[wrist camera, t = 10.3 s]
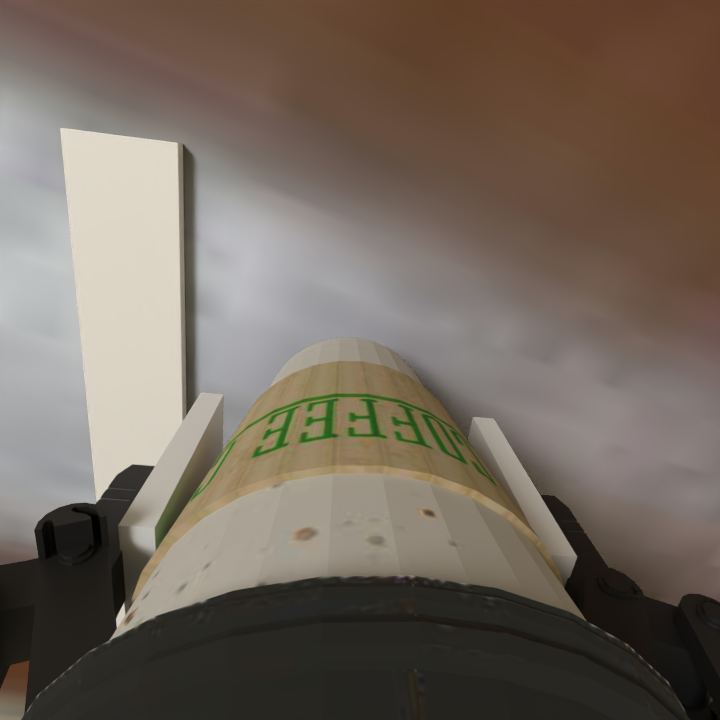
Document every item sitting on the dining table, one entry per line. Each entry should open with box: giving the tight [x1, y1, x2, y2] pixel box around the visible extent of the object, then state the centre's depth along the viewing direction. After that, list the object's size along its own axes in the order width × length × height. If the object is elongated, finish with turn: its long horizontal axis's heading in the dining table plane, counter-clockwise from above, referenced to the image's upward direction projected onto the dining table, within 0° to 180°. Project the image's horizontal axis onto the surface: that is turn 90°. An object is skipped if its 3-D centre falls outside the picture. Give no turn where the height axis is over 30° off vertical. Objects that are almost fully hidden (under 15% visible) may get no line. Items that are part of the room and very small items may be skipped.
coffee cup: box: [21, 338, 690, 720], centre depth 12 cm, size 10×10×15 cm
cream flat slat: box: [60, 128, 187, 628], centre depth 22 cm, size 4×24×1 cm, turn 173°
